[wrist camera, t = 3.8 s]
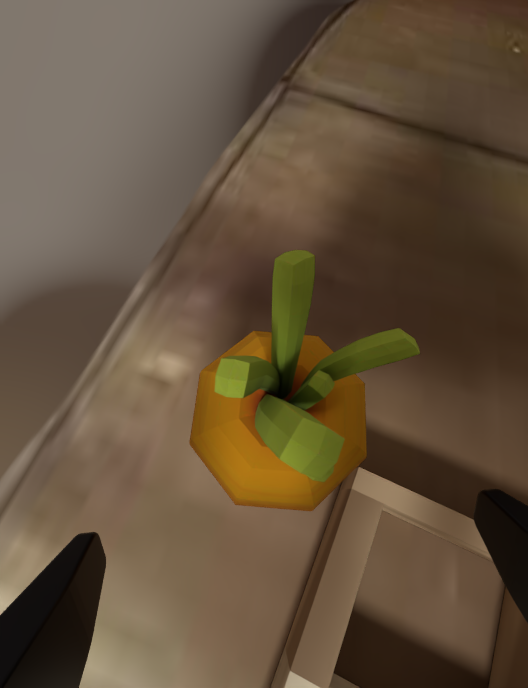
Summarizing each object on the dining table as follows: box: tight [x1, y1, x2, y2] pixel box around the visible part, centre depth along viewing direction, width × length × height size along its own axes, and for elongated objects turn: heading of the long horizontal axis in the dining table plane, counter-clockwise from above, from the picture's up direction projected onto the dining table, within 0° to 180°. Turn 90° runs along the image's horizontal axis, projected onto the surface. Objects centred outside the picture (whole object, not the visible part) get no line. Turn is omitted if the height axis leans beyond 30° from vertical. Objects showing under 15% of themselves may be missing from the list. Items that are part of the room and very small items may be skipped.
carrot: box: [190, 250, 420, 511], centre depth 12 cm, size 5×5×15 cm
